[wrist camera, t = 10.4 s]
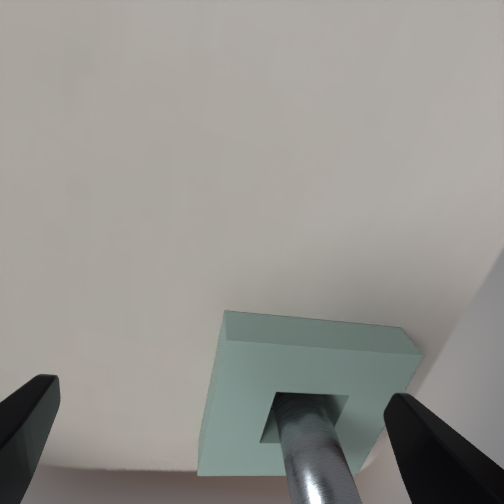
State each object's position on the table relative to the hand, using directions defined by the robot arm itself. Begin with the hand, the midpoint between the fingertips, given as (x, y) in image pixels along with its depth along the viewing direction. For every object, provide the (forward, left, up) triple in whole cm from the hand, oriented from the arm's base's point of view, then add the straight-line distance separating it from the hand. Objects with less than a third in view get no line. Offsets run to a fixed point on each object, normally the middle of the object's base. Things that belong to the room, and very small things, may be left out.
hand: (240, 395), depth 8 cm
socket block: (-13, -8, -12) cm, 19 cm away
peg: (-13, -8, -12) cm, 19 cm away
